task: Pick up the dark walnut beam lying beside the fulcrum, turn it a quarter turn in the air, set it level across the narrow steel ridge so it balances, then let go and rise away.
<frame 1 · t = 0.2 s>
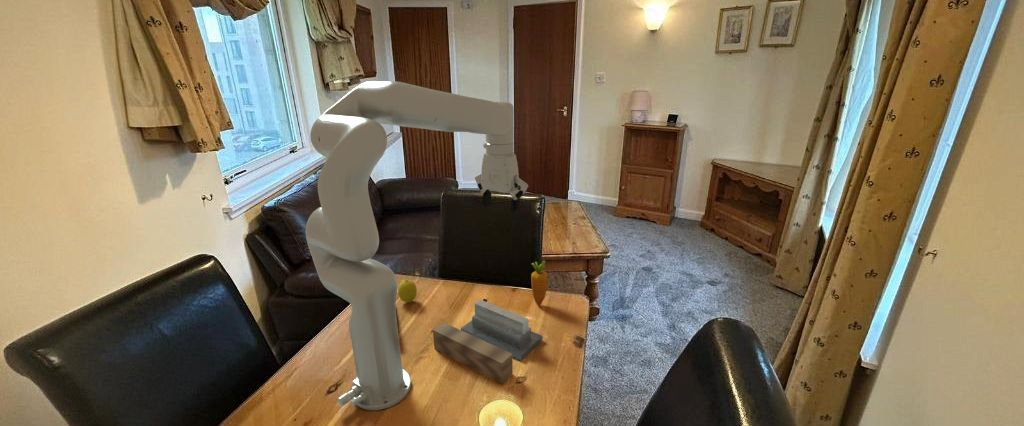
hand: (501, 209, 115), 31 cm above the table, tool pointing down, fingers open, 9 cm apart
carrot: (538, 306, 124), on the table
lemon: (408, 303, 126), on the table
walnut beam: (471, 361, 101), on the table
caliper: (395, 325, 115), on the table
fulcrum: (501, 336, 110), on the table
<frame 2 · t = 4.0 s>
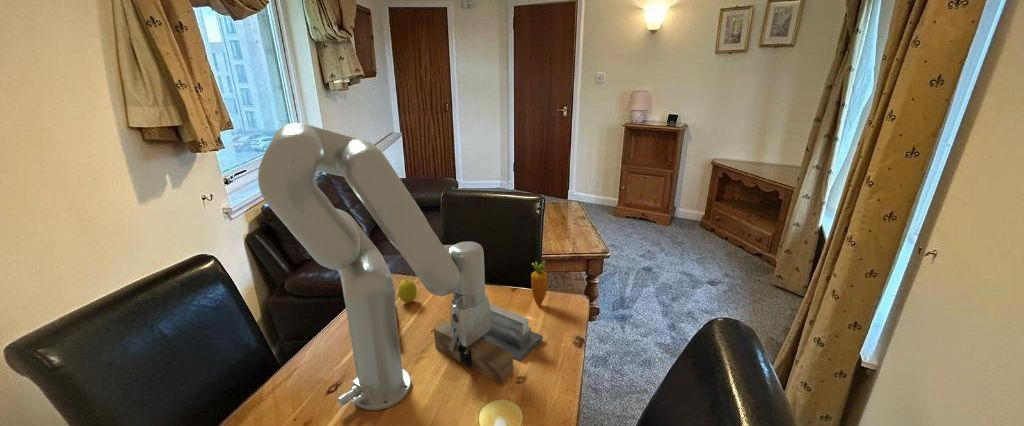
hand: (472, 358, 100), 1 cm above the table, tool pointing down, fingers closed on walnut beam, 4 cm apart
walnut beam: (472, 360, 101), on the table, touching gripper
everything else where it was.
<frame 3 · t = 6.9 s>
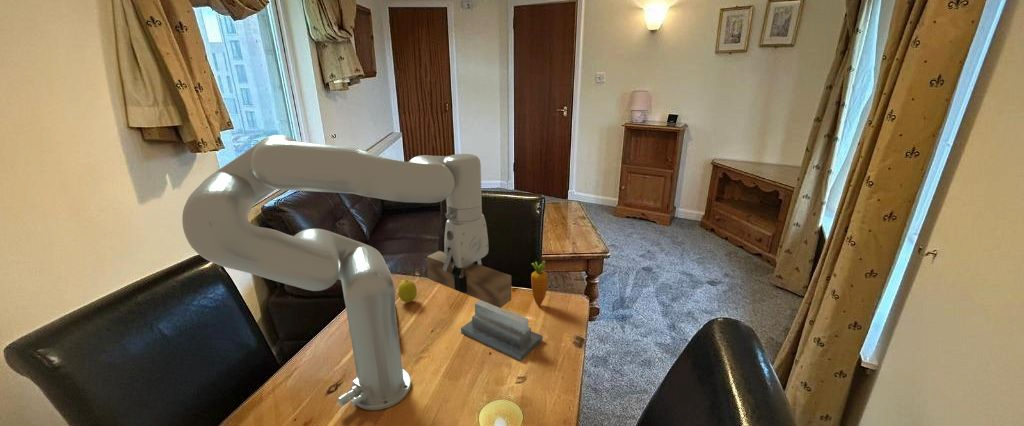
hand: (467, 286, 94), 21 cm above the table, tool pointing down, fingers closed on walnut beam, 4 cm apart
walnut beam: (467, 288, 94), point 20 cm above the table, touching gripper
everything else where it was.
when the fingers open (9 cm above the table, at t = 10.2 s): walnut beam stays where it is, resting on fulcrum.
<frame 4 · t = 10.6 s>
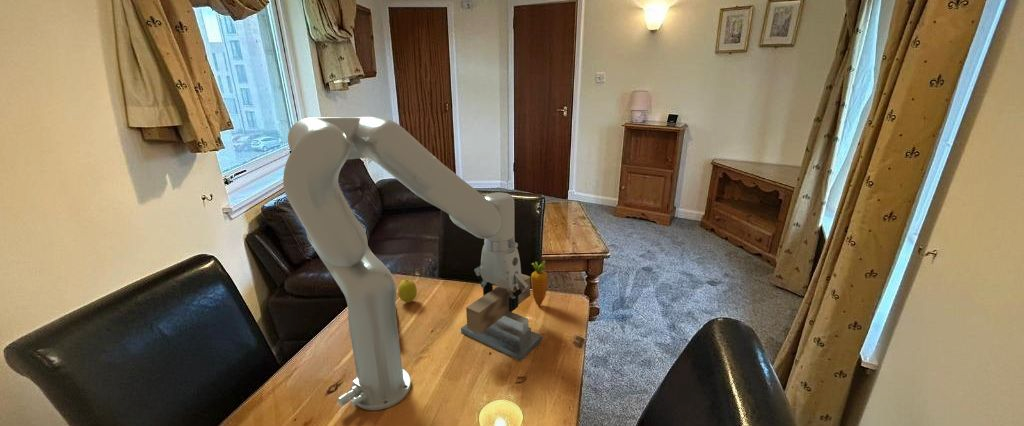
hand: (500, 304, 106), 10 cm above the table, tool pointing down, fingers open, 7 cm apart
walnut beam: (500, 311, 107), point 8 cm above the table, touching fulcrum
everything else where it was.
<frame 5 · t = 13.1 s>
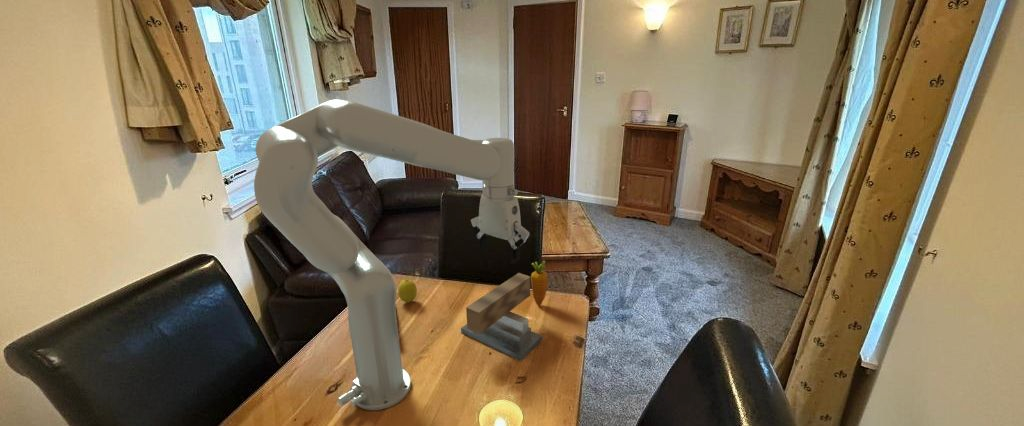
hand: (499, 256, 102), 24 cm above the table, tool pointing down, fingers open, 9 cm apart
nothing on the table moved.
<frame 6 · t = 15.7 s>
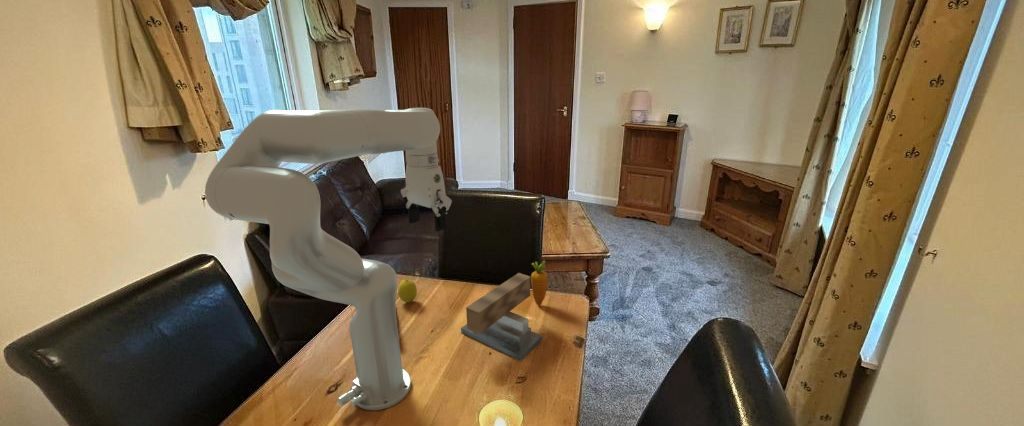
hand: (427, 225, 104), 30 cm above the table, tool pointing down, fingers open, 9 cm apart
nothing on the table moved.
at the end: walnut beam 0.1 cm off-centre on the fulcrum, point 8.0 cm above the fulcrum's base; walnut beam tilted 0°; the gripper is holding nothing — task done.
